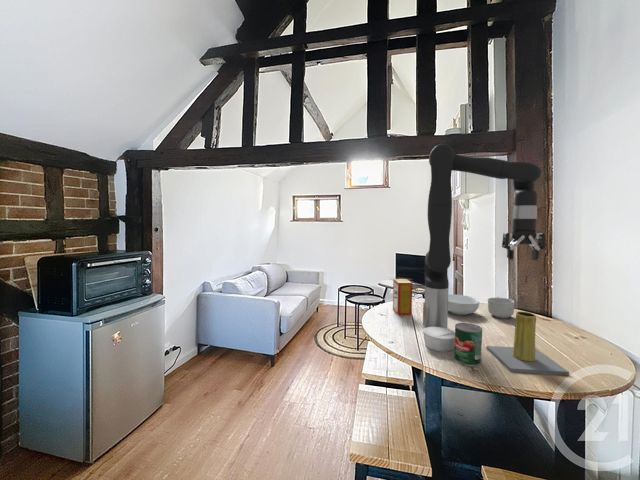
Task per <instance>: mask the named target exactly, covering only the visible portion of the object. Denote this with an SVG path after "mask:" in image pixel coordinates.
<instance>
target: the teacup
mask: <svg viewBox="0 0 640 480" xmlns="http://www.w3.org/2000/svg"><path fill="white" fill-rule="evenodd" d="M486 301H487V309H488V312H489V314H491V315H492V317H494V316H495V317H494V318H498V319H499V318H500V319H509V318H510V317H512V316H513V315H514V314H515V301H514V300H513V299H510V298H506V297H500V296H496V297H489V298H487V300H486Z"/></svg>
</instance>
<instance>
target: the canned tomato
mask: <svg viewBox="0 0 640 480" xmlns="http://www.w3.org/2000/svg"><path fill="white" fill-rule="evenodd" d="M483 329H484V328H482V327H481V326H479V325H477V324H474V323H467V322H457V323H455V325H454V332H455V342H454V343H455V344H454V348H453V351H454V352H453V360H454V361H455V362H457V363H459V364H462V365H464V366H469V367H478V366H480V365H481V364H482V345H483Z"/></svg>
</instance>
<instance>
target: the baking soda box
mask: <svg viewBox="0 0 640 480" xmlns="http://www.w3.org/2000/svg"><path fill="white" fill-rule="evenodd" d="M392 282H393V285H392V286H393V288H392V291H393V292H392V310H393V312H394V313H395V314H396V315H397V316H412V315H413V312H412V311H413V309H412V308H413V281H410V280H409V279H407V278H393V281H392Z"/></svg>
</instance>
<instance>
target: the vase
mask: <svg viewBox="0 0 640 480" xmlns="http://www.w3.org/2000/svg"><path fill="white" fill-rule="evenodd" d="M515 313H516V314H515V325H514V326H515V328H514V337H513V347H514V351H513V356H514V357H515V358H517V359H520V360H523V361H529V362H532V361H535V360H536V358H535V348H536V324H537V315H536V314H535V313H533V312H527V311H516V312H515Z"/></svg>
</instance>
